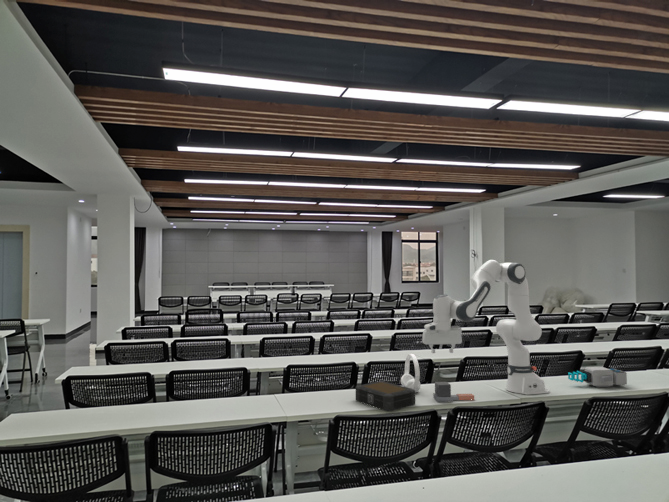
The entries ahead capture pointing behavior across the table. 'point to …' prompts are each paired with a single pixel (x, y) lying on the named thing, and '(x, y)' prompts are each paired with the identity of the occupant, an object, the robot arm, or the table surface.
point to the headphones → (407, 378)
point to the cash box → (385, 395)
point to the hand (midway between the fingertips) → (442, 352)
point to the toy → (600, 376)
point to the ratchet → (453, 397)
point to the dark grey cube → (442, 389)
